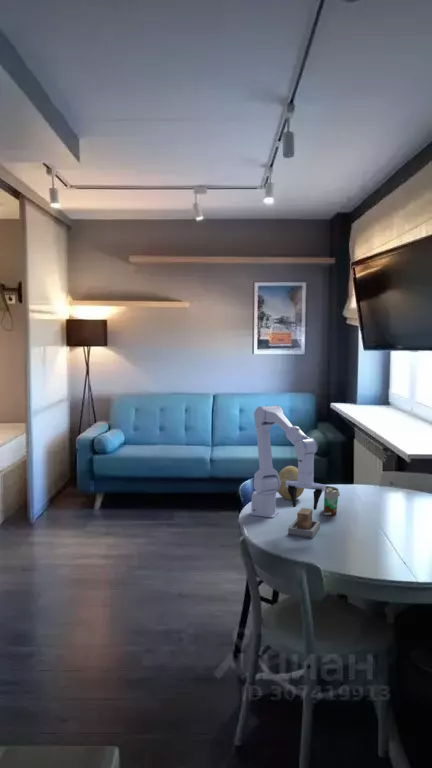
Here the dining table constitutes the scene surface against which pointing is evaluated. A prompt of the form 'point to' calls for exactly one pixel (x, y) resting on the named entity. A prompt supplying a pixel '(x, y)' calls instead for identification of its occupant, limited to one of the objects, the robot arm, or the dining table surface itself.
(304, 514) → the brown block
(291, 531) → the grey shallow tray
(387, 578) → the dining table surface
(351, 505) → the dining table surface
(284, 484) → the fossilized egg
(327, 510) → the food container
